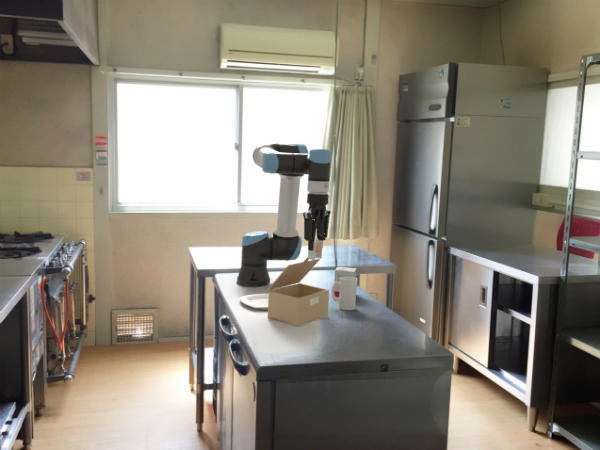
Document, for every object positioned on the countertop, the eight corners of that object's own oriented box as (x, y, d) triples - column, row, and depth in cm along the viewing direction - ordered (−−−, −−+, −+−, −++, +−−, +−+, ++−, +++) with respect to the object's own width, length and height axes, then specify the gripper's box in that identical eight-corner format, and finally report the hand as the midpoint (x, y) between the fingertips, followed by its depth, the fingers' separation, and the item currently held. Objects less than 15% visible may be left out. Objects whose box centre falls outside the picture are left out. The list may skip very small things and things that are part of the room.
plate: (251, 314, 212) (252, 308, 211) (233, 300, 228) (233, 295, 228) (297, 309, 220) (297, 304, 220) (276, 296, 237) (277, 292, 237)
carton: (267, 317, 206) (268, 291, 205) (298, 308, 220) (299, 283, 219) (297, 326, 198) (299, 298, 196) (327, 316, 212) (329, 290, 210)
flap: (270, 293, 205) (265, 286, 206) (301, 285, 219) (296, 278, 220) (306, 251, 193) (301, 244, 194) (336, 245, 207) (331, 239, 208)
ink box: (352, 298, 238) (354, 271, 236) (332, 297, 240) (334, 269, 238) (355, 293, 246) (356, 267, 245) (335, 292, 248) (337, 265, 246)
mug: (352, 305, 227) (354, 276, 226) (357, 310, 221) (359, 280, 219) (328, 306, 225) (330, 276, 224) (332, 310, 219) (334, 280, 217)
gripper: (312, 194, 190) (309, 263, 193) (340, 193, 203) (336, 257, 206) (295, 193, 195) (292, 259, 198) (323, 191, 207) (320, 254, 211)
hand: (314, 258), depth 202 cm, fingers closed on flap, 3 cm apart
